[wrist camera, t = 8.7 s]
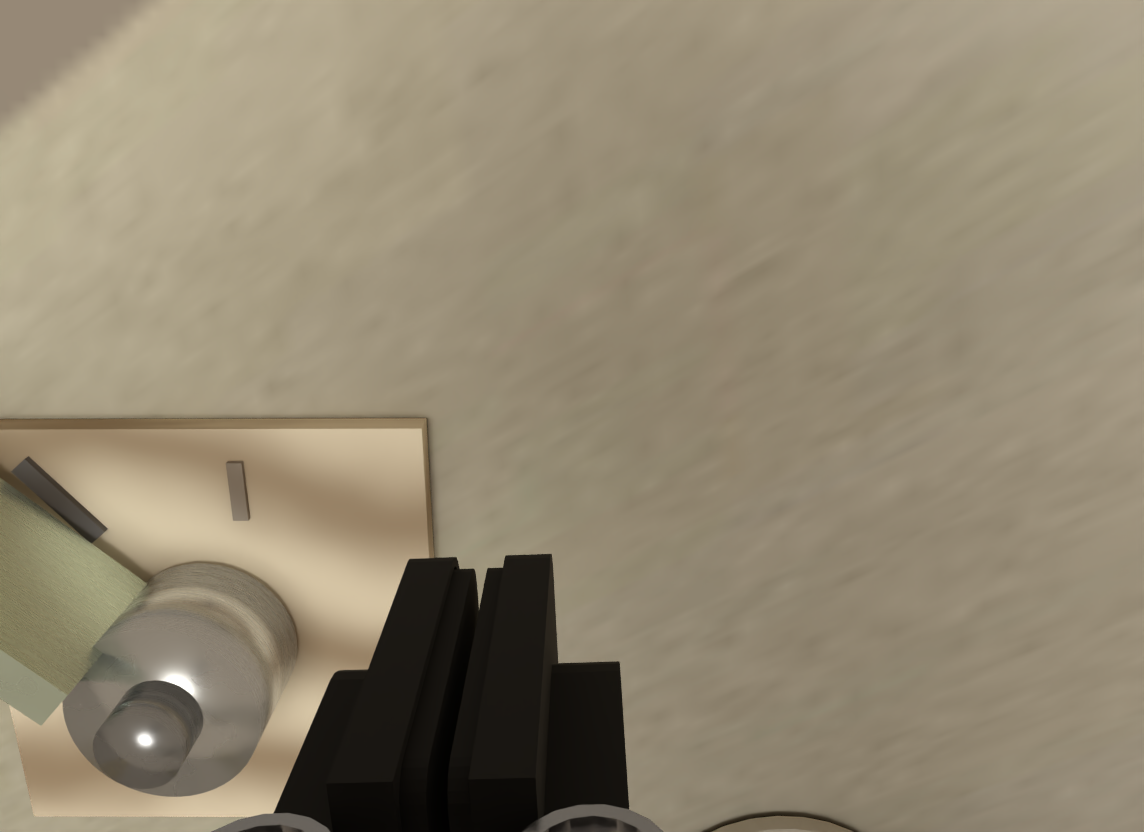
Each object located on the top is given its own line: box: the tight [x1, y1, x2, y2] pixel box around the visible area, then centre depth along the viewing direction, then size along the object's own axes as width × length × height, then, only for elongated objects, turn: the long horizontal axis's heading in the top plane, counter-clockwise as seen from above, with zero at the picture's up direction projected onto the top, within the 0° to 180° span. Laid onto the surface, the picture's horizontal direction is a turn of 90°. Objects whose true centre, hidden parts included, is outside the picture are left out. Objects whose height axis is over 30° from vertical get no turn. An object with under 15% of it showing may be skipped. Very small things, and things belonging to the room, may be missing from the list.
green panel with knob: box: [0, 478, 297, 797], centre depth 35 cm, size 18×7×8 cm, turn 48°
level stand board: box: [0, 418, 434, 817], centre depth 41 cm, size 18×18×2 cm
